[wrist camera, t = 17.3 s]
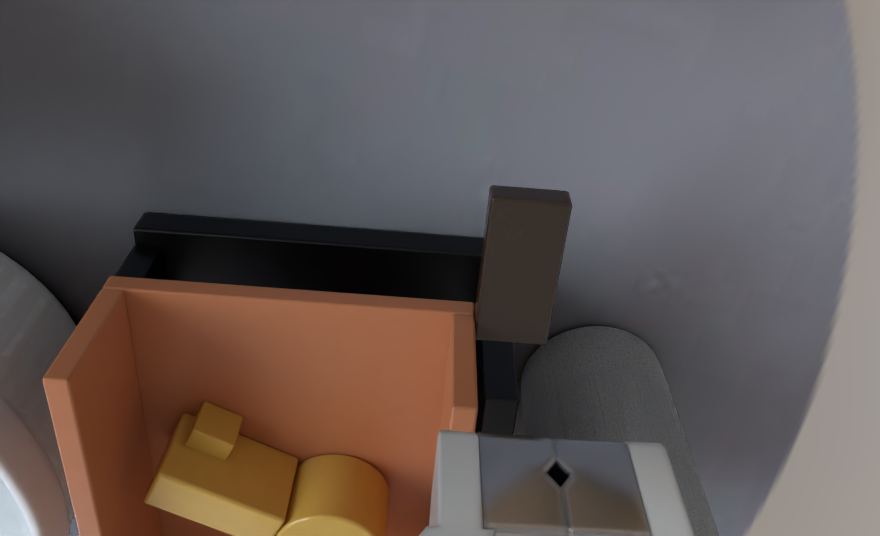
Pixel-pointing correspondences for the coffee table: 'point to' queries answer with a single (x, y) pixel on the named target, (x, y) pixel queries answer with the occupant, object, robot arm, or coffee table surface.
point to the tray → (293, 371)
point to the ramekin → (30, 407)
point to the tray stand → (331, 275)
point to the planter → (610, 402)
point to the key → (263, 484)
